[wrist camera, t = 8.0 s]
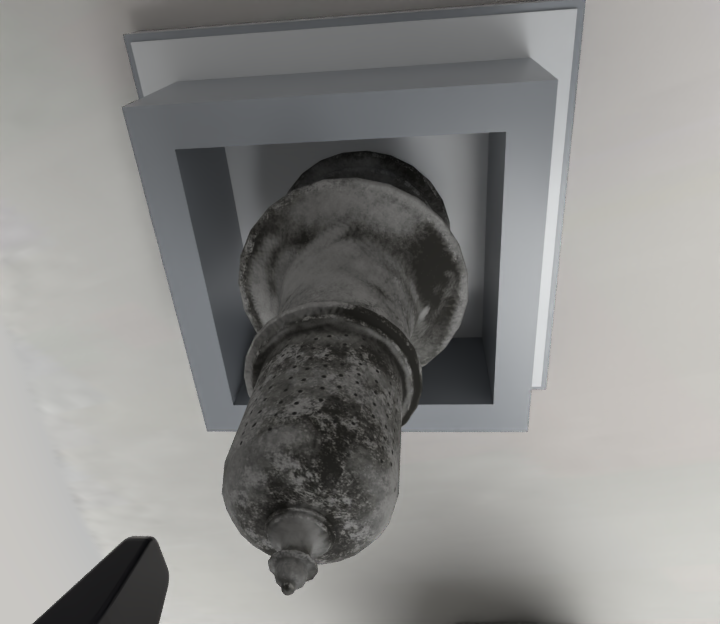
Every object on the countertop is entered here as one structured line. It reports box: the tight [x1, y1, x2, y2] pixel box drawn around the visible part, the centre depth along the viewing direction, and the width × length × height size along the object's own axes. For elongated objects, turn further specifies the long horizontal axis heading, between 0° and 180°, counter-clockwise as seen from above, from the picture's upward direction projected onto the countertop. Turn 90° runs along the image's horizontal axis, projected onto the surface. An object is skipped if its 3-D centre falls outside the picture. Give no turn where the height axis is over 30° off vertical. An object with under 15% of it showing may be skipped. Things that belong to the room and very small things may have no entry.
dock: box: [122, 0, 586, 432], centre depth 17 cm, size 12×12×4 cm
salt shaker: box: [222, 151, 468, 595], centre depth 13 cm, size 6×6×12 cm
